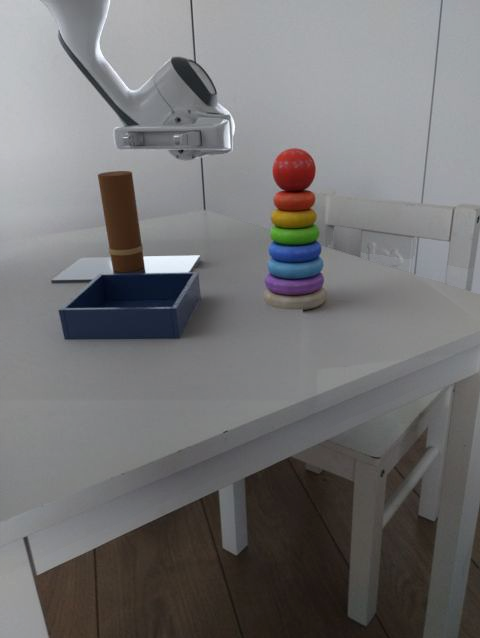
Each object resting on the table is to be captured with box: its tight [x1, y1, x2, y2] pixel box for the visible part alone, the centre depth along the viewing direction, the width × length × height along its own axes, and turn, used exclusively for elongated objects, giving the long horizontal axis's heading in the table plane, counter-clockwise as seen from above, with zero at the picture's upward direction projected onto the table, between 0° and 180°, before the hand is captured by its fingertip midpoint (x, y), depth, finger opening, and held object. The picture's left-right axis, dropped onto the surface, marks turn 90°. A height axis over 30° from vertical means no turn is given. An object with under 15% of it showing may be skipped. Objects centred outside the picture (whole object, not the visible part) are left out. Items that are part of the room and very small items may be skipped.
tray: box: [58, 271, 202, 341], centre depth 69 cm, size 13×13×4 cm
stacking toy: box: [263, 147, 327, 311], centre depth 69 cm, size 8×8×19 cm
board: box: [50, 254, 202, 284], centre depth 88 cm, size 20×12×1 cm, turn 85°
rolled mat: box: [97, 170, 145, 272], centre depth 85 cm, size 5×5×14 cm
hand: (151, 141), depth 90 cm, fingers open, 8 cm apart
